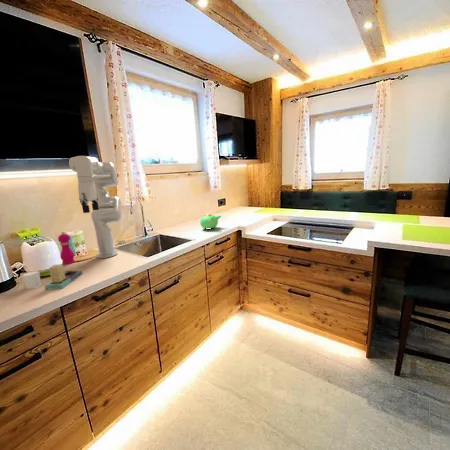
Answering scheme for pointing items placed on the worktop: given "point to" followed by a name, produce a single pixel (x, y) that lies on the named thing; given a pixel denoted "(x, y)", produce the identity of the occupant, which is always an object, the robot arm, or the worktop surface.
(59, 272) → the nut block
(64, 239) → the pepper mill
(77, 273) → the teal and grey tray
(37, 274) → the white cylinder
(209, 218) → the green teapot
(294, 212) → the worktop surface
